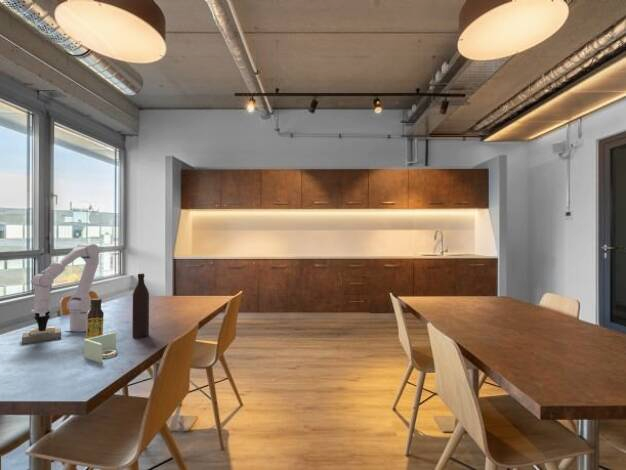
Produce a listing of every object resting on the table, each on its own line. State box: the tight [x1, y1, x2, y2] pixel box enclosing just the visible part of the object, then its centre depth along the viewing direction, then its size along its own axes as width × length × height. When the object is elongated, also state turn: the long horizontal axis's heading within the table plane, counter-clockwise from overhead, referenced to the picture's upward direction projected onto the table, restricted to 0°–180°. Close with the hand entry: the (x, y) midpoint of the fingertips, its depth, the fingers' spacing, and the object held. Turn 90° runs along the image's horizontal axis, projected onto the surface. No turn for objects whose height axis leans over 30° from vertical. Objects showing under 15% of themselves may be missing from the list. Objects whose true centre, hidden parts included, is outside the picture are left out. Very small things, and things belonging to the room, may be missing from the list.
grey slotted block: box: [21, 327, 62, 345], centre depth 158 cm, size 14×8×3 cm, turn 129°
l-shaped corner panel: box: [83, 331, 118, 364], centre depth 137 cm, size 12×12×8 cm
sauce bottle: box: [85, 297, 105, 339], centre depth 152 cm, size 6×6×20 cm
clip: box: [29, 325, 56, 335], centre depth 158 cm, size 9×3×4 cm, turn 129°
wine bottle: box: [131, 273, 150, 339], centre depth 163 cm, size 7×7×30 cm
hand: (42, 329), depth 158 cm, fingers open, 7 cm apart
